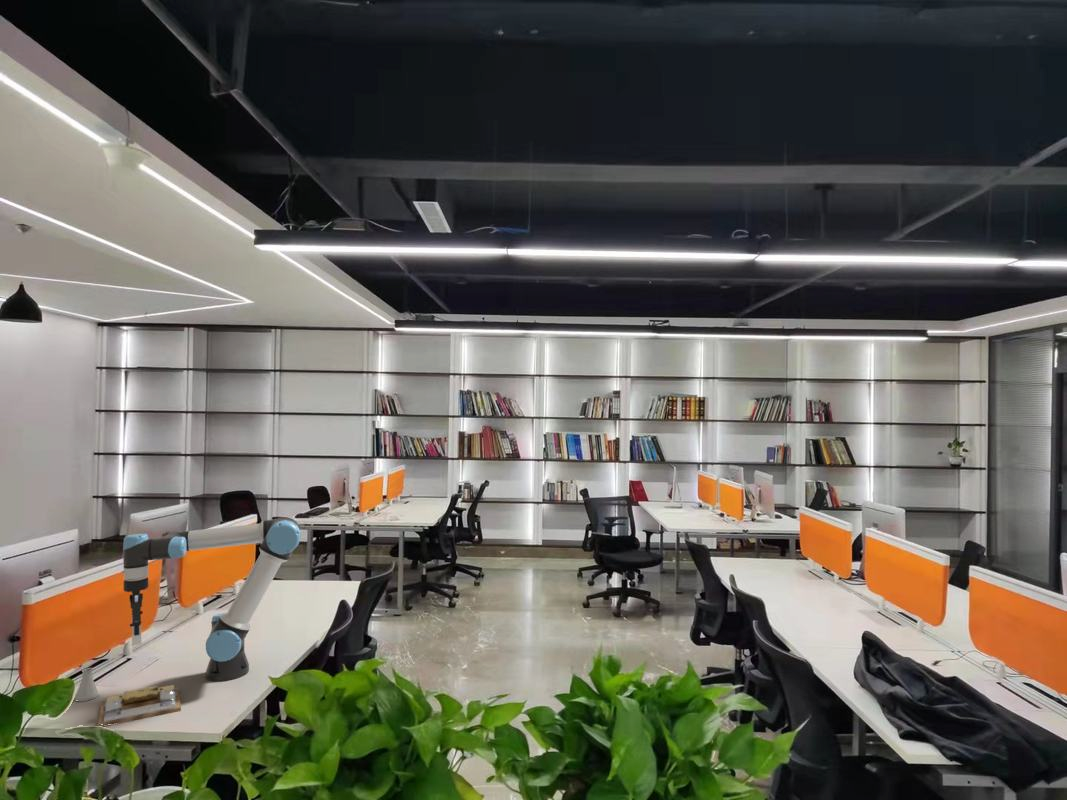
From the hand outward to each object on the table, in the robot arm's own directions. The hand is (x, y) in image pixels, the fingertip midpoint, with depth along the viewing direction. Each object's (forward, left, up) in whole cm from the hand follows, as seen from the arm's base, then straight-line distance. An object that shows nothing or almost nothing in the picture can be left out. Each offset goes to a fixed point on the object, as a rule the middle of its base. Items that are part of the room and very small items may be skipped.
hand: (136, 639), depth 225 cm
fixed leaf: (-2, +15, -20) cm, 25 cm away
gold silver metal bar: (-2, +5, -19) cm, 20 cm away
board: (-2, +10, -21) cm, 23 cm away
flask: (+15, -10, -21) cm, 27 cm away
